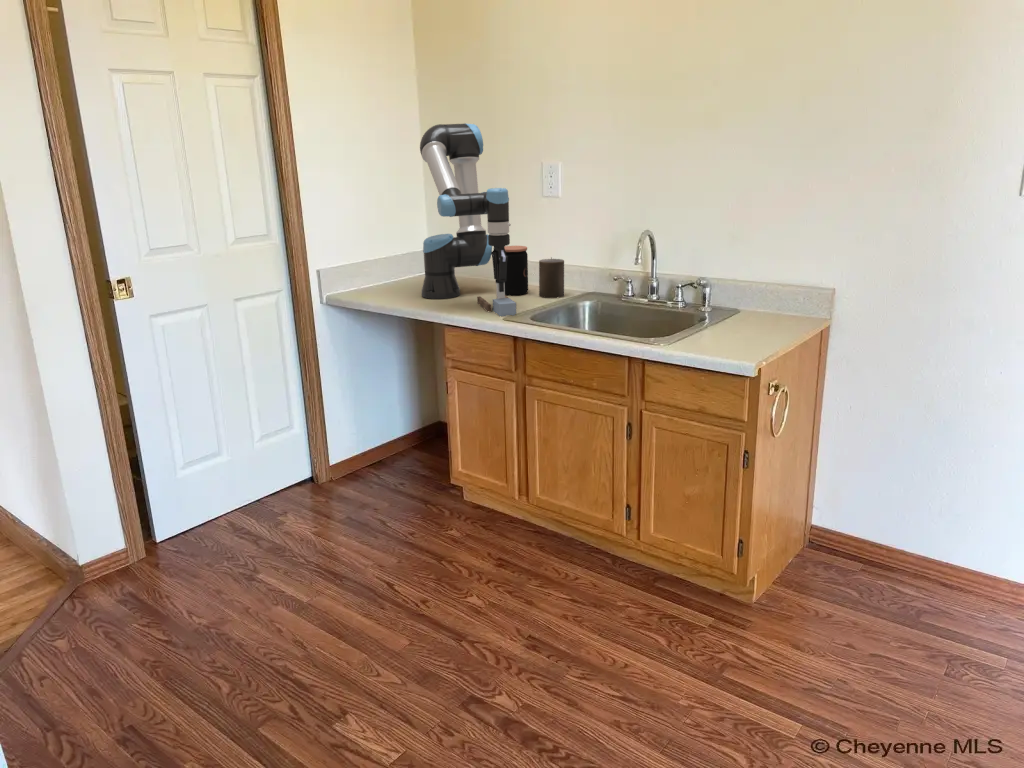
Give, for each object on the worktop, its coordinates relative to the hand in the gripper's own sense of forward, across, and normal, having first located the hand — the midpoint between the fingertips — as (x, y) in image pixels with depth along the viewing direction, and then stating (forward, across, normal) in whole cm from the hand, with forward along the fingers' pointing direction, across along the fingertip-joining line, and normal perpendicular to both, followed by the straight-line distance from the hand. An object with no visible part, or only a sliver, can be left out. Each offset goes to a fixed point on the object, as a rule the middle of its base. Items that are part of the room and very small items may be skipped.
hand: (500, 300), depth 282 cm
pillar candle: (+4, +16, -25) cm, 30 cm away
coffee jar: (+4, +26, -13) cm, 30 cm away
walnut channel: (+4, +6, 0) cm, 7 cm away
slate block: (+4, -5, 0) cm, 6 cm away
